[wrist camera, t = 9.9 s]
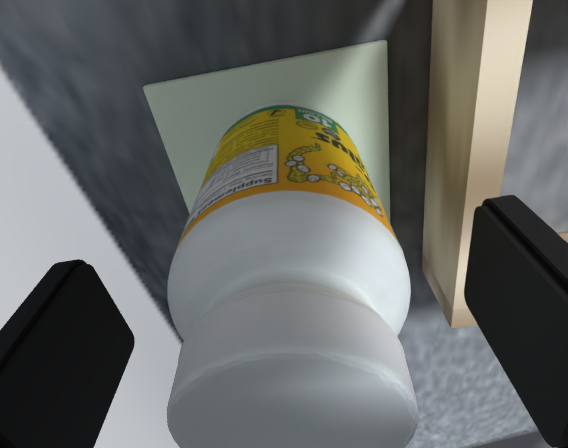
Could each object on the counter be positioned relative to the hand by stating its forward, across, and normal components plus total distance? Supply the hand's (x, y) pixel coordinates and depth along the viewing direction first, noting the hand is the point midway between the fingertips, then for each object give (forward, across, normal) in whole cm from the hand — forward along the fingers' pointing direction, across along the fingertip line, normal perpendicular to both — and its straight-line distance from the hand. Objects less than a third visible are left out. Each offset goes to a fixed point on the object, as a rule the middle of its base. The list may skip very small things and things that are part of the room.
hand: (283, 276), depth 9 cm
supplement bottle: (+6, 0, 0) cm, 6 cm away
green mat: (+6, 0, 0) cm, 6 cm away
